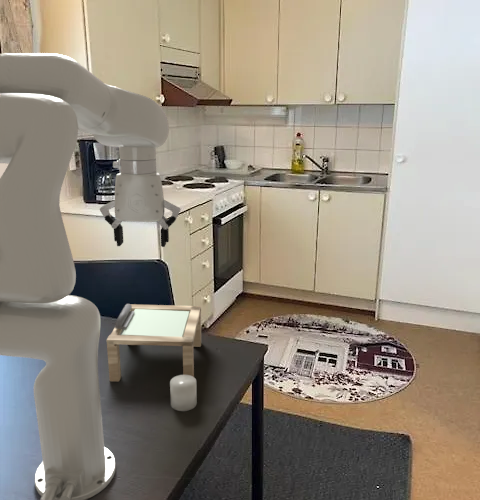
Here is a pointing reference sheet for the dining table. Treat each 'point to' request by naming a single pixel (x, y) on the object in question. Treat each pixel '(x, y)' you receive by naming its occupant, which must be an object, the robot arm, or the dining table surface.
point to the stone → (183, 392)
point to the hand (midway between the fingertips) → (142, 244)
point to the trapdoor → (152, 322)
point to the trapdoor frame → (158, 339)
